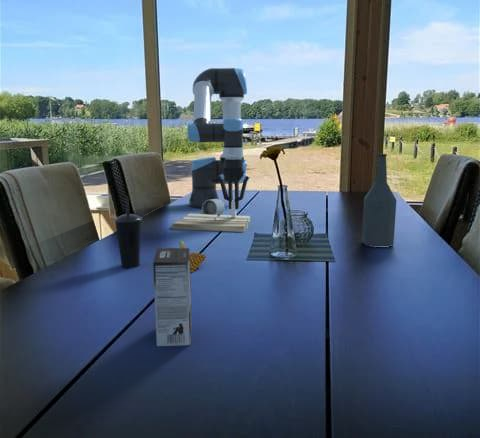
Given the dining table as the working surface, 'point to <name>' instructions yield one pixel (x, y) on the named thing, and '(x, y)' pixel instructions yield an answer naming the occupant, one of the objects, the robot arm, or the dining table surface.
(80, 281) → the dining table surface
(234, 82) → the robot arm
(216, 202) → the ceramic mug
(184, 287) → the coffee box
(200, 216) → the plank
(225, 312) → the dining table surface
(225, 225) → the laid board
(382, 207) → the bottle
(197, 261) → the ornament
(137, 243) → the drinking cup
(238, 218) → the plank
